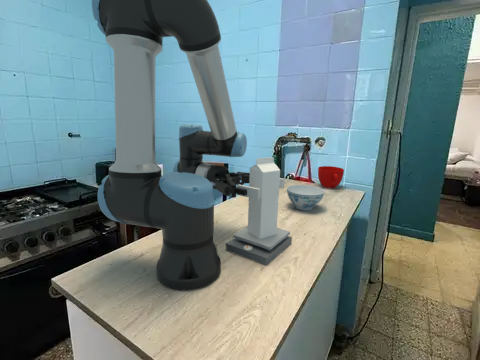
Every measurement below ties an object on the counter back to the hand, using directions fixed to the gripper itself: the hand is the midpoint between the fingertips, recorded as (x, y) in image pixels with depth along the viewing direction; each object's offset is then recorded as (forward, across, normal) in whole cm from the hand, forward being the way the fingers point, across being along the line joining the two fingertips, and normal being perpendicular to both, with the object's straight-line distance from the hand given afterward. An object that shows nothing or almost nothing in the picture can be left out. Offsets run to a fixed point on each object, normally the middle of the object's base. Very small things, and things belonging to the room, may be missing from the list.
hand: (272, 188), depth 72 cm
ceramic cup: (-7, -77, -18) cm, 79 cm away
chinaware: (-6, -39, -18) cm, 43 cm away
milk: (-3, 0, -14) cm, 14 cm away
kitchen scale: (-2, 0, -18) cm, 18 cm away
